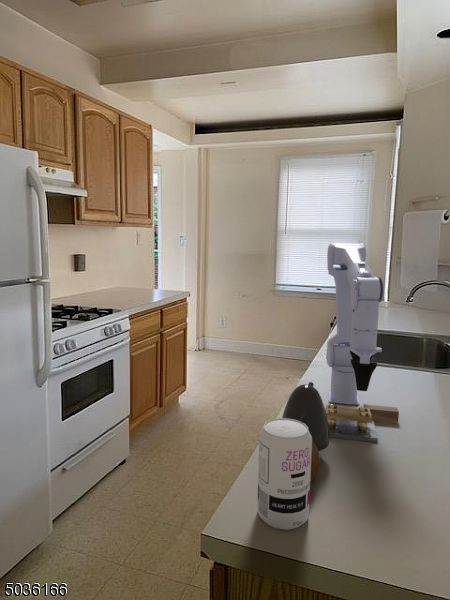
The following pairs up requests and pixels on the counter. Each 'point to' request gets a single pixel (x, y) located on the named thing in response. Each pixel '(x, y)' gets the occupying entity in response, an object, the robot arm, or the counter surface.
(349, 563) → the counter surface
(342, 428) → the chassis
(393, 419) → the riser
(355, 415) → the wooden frame
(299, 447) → the supplement can
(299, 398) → the dark grey tall dome
